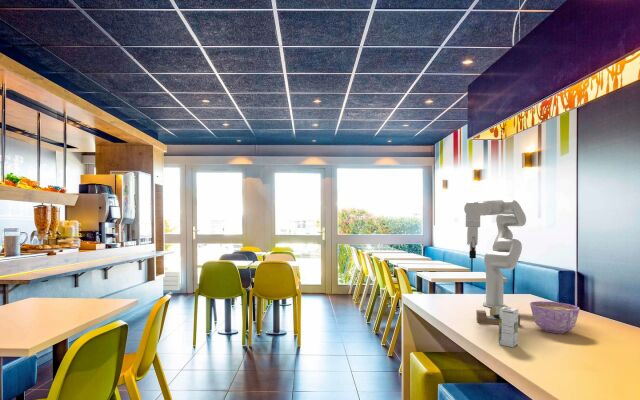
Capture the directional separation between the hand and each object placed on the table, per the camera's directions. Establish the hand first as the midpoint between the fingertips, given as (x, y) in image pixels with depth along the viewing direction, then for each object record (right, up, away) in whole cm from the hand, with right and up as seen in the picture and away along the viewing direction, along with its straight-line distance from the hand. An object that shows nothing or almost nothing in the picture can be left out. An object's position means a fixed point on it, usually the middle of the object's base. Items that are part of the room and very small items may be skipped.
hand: (472, 258), depth 236 cm
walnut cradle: (+3, -28, -25) cm, 38 cm away
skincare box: (+6, -27, -15) cm, 31 cm away
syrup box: (-8, -27, -62) cm, 68 cm away
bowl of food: (+24, -28, -39) cm, 53 cm away
